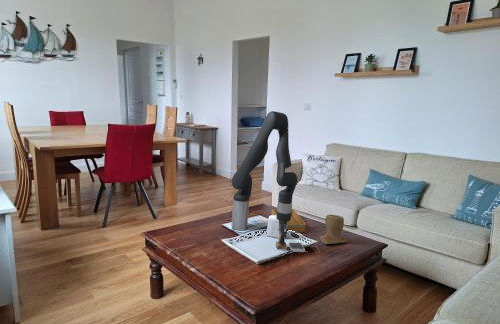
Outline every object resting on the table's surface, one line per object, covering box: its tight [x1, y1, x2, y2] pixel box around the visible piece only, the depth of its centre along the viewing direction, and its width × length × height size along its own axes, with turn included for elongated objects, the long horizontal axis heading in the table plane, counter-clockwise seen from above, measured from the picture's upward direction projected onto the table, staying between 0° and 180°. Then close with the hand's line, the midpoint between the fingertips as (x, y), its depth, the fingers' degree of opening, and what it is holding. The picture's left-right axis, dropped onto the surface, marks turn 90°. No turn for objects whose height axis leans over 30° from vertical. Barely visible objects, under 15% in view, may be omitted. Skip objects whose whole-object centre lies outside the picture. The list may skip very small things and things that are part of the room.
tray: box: [270, 208, 308, 233], centre depth 217 cm, size 31×15×6 cm, turn 7°
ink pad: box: [287, 242, 306, 253], centre depth 180 cm, size 7×8×2 cm
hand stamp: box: [275, 233, 288, 250], centre depth 179 cm, size 5×5×8 cm
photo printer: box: [266, 215, 279, 239], centre depth 194 cm, size 10×4×12 cm, turn 72°
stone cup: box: [319, 214, 347, 245], centre depth 192 cm, size 15×12×15 cm
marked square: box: [304, 245, 322, 253], centre depth 181 cm, size 8×8×1 cm
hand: (281, 242), depth 179 cm, fingers closed on hand stamp, 3 cm apart
